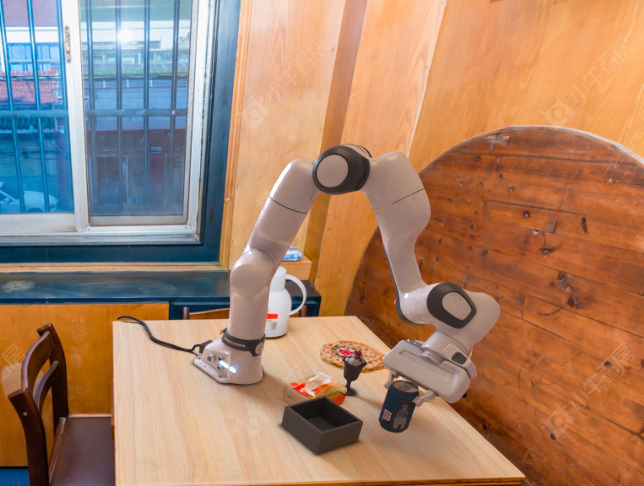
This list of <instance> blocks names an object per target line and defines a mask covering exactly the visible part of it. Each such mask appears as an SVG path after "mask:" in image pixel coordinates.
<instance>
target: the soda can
mask: <svg viewBox="0 0 644 486" xmlns="http://www.w3.org/2000/svg"><path fill="white" fill-rule="evenodd" d="M419 390H420V387H418V386H417V385H415V384H414V383H411V382H408V381H404V380H399V379H398V380H397V379H396V380H394V381H393V384H392V385H391V386H390V387H389V388H388V389H387V391H386V394H385V397H384V401H383V403H382V407H381V410H380V414H379V416H378V419H377V420H378V424H379V426H380V428H381V429H383V430H384V431H386V432H389V433H391V434H401V433H403V432H405V431H406V430H407V429H409V426H410V423H411V420H412V418H413V415H414V412H415V410H416V407H417V406H416V405H414V404H413V403H412V401H413V399H415V397H416V396H418V397H420V392H419Z"/></svg>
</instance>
